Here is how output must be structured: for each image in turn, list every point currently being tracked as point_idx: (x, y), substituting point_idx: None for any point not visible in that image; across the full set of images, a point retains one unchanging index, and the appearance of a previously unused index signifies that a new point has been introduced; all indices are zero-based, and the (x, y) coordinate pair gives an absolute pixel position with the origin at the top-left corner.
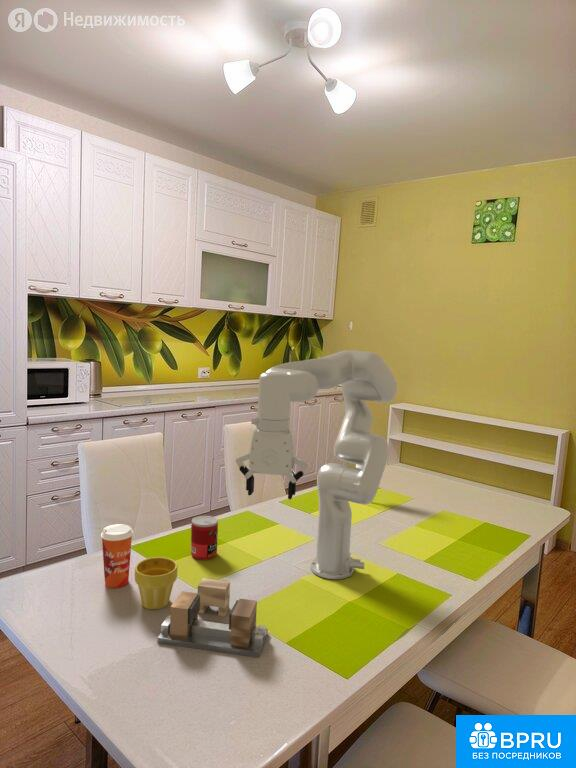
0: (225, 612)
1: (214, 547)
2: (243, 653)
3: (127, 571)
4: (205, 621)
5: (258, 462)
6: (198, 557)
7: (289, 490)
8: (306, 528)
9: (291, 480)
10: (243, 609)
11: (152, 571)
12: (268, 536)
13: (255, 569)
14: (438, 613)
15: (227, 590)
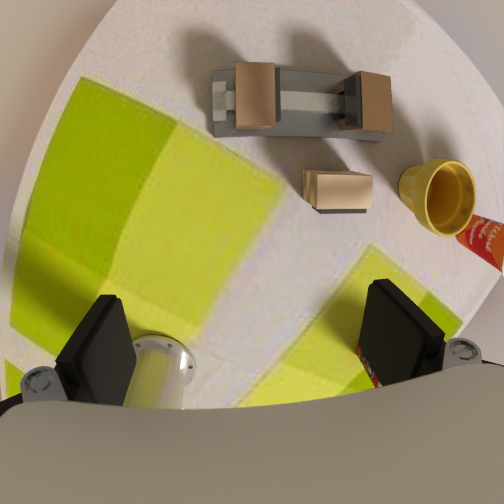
0: (303, 173)
1: None
2: None
3: (468, 233)
4: (325, 111)
5: (501, 476)
6: None
7: (90, 325)
8: None
9: (52, 383)
10: (255, 85)
11: (447, 217)
12: None
13: (286, 332)
14: (7, 277)
15: (314, 188)
